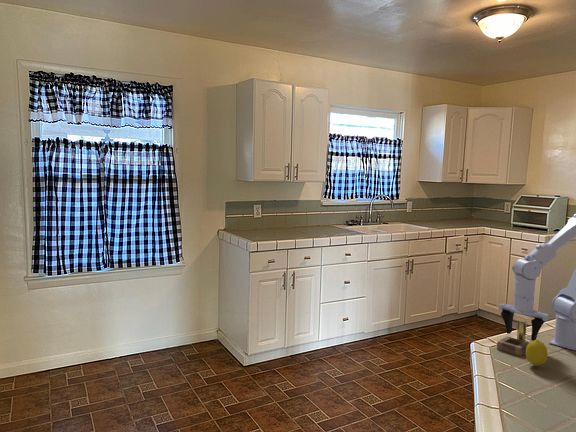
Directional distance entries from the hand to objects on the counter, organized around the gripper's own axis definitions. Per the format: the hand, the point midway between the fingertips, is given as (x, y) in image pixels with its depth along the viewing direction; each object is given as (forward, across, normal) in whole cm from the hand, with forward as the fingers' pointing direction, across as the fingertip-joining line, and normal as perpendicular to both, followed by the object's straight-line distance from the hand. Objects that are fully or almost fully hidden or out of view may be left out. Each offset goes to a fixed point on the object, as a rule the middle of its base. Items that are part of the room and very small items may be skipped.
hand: (521, 336), depth 144 cm
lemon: (+3, +10, -14) cm, 17 cm away
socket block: (+3, 0, -6) cm, 7 cm away
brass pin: (+3, 0, 0) cm, 3 cm away
